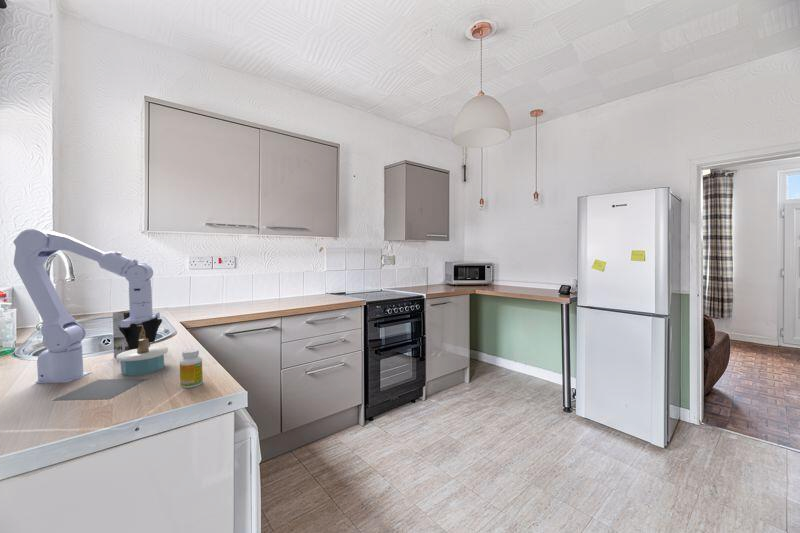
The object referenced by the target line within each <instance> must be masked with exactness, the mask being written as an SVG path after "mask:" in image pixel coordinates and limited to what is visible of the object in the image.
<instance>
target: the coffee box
mask: <svg viewBox="0 0 800 533" xmlns="http://www.w3.org/2000/svg"><path fill="white" fill-rule="evenodd" d="M129 317H130V309H128V310H121V311H116V312H112V332H113V333H112V335H113V336H112V338H113V358H117V357H116V356H117V355H118V354H120V353H122V352H125V351H129V350H133V349H130V348H129V346H128V343H127V341H126V338H125V337H124V335H123V334H122V332H121V331H120V330H119V327H120V326H121V321H122V320H125V319H127V318H129ZM136 325H137V326H142V329H141V332H140V335H139V339H145V338H146V336H145V330H144V327H143V325H142V323H138V324H135V326H136ZM149 347H151V342H149Z"/></svg>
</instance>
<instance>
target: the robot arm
mask: <svg viewBox="0 0 800 533" xmlns="http://www.w3.org/2000/svg"><path fill="white" fill-rule="evenodd" d="M13 244H14V247H15V250H14V256H13V257H14V258H13V266H14V268H15V270H16V271H17V274H18V275H19V277H20V279H21V281H22V283H23V285H24V286H25V289H26V292H27V293H28V295H29V296H30V299H31V301H32V303H33V304H34V307H35V309H36V310H37V312H38V314H39V316H40V317H41V320H42V325H41V328H40V331H41V334H42V344H43V346H44V348H46V349H44V350H43V351H42V352H40V354H39V355H38V357H37V361H36V364H37V365H36V366H37V367H36V368H37V380H36V381H34V382H35V384H42V383H43V384H45V383H46V384H48V383H49V384H50V383H52V384H53V383H70V382H73V381H75V380H77V379H80V378H82V377H85V376H87V375H90V374H92V371H84V362H83V361H84V358H83V344H82V341H83V340H84V339H85V337H86V329H85V328H84V326H82V325H81V324H79V323H78V322H77V319H76V318H75V317H73V316H72V315H70V314H68V311H67V310H66V307H65V306H64V304H63V302H62V300H61V298H60V296H59V294H58V292H57V290H56V288H55V286H54V283H53V282H52V280H51V278H50V276H49V274H48V272H47V270H46V268H45V266H44V265H45V263H46V262H47V261H48V259H49V258H50V257H51V256H52V255H54V254H56V253H57V252H59V251H69V252H71V253H73V254H75V255H78V256H81V257H84V258H86V259H89V260H92V261H94V262H97V263H98V266H99V267H100V269H103V270H105V271H108V272H110V273H112V274H115V275H117V276H119V277H122V278H125V279H126V281H128V298H129V299H128V302H129V303H128V304H129V310H130V317H129V318H127V319H125V320H122V321H121V326H120V327H119V330H120V331H121V332H122V334H123V335H124V337H125V338H126V341H127V343H128V346H129V348H130V349H137V348H138V346H139V335H140V332H141V329H142V326H137V325H136V326H135V324H138V323H142V325H143V327H144V330H145V336H146V338H147V339H148V340H149V342H150V343H155V340H156V338H157V333H158V330H159V328H160V326H161V324H162V323H163V319H162V318H161V316H160V313H161V312H159V311H155V312H154V311H153V294H152V280H151V279H152V278H153V275H154V270H153V268H152V267H151V265H148V264H147V263H144V262H143V263H139V260H138V259H131V258H128V257H127V256H125V255H123V252H120V251H110V250H109V251H106V252H104V251H102V250H100V249H97V248H95V247H93V246H91V245H89V244H87V243H84V242H83V241H80V240H78V239H76V238H74V237H71V236H69V235H66V234H64V233H60V232H57V231H55V230H43V229H42V230H41V229H35V228H29V229H25V230H23V231H22V230H21V232H20V233H19V234H18V236H16V237H15V239H14V240H13Z"/></svg>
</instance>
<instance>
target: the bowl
mask: <svg viewBox="0 0 800 533" xmlns="http://www.w3.org/2000/svg"><path fill="white" fill-rule="evenodd" d="M164 367H165V354H164V355H161V356H158V357H155V358H151V359H145V360H138V361H120V373H121V374H122V375H123V376H141V375H147V374H150V373H154V372H157V371H160V370H163V368H164Z"/></svg>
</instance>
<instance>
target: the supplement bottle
mask: <svg viewBox="0 0 800 533" xmlns="http://www.w3.org/2000/svg"><path fill="white" fill-rule="evenodd" d="M199 355H200V350H199V349H198V348H189V349H185V350H183V351H182V352H181V357H182V358H181V359H180V360H179V383H180V387H182V388H184V389H189V388H190V389H191V388H196V387H198V386H200V385H202V384H203V379H204V378H203V376H204V375H203V358H202V357H201V356H199Z"/></svg>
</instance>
